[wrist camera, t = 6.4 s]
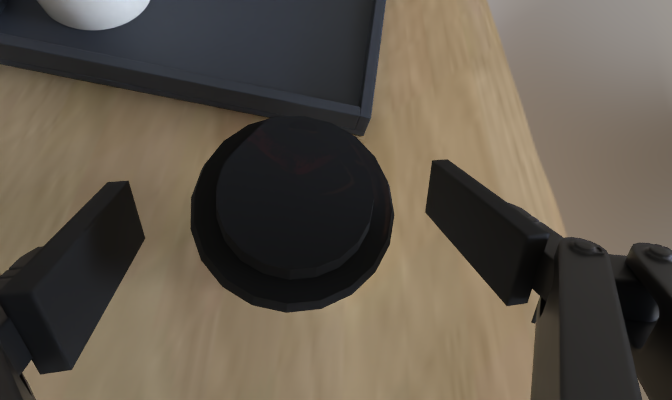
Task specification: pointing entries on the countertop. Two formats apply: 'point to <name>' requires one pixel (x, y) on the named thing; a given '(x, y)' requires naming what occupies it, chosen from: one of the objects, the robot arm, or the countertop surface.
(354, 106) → the cup tray
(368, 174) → the coffee cup
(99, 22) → the cream cup
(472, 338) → the countertop surface
